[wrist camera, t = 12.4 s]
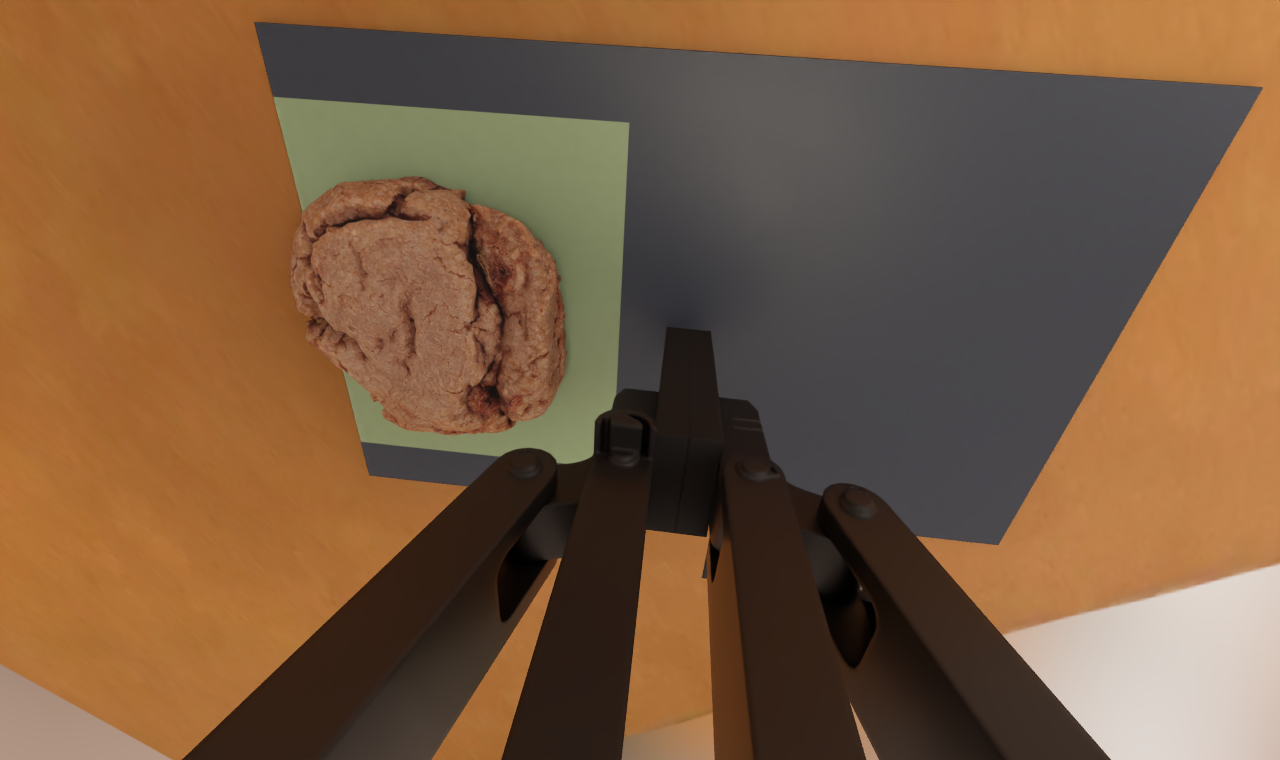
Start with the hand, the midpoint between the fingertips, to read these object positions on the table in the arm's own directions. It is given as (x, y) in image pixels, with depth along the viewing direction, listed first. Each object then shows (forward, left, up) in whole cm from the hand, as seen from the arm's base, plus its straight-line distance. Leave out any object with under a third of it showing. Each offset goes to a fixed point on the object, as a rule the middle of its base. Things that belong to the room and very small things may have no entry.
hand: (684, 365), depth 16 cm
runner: (0, 0, -3) cm, 3 cm away
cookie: (0, -9, -3) cm, 10 cm away
